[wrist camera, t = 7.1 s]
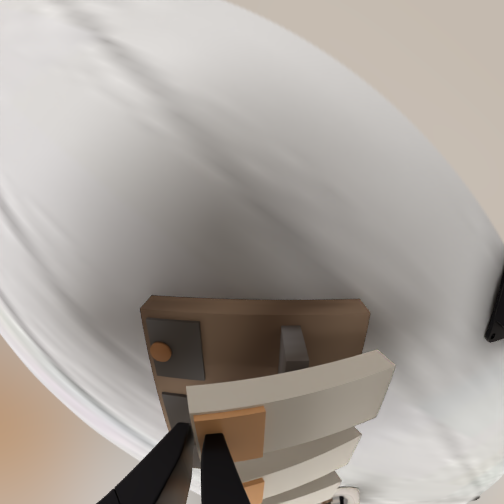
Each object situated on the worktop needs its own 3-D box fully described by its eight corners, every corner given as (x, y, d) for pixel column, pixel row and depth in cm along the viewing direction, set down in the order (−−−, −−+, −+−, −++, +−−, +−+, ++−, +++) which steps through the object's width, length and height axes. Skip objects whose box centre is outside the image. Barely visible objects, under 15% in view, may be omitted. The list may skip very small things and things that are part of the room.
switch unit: (359, 299, 13) (393, 342, 9) (320, 454, 16) (328, 496, 12) (151, 295, 13) (115, 337, 9) (184, 451, 16) (174, 492, 12)
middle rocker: (347, 419, 11) (364, 437, 10) (335, 450, 12) (349, 466, 10) (201, 467, 8) (211, 493, 7) (208, 492, 9) (218, 514, 8)
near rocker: (377, 349, 9) (400, 368, 8) (361, 400, 10) (379, 420, 9) (186, 386, 8) (190, 419, 6) (196, 437, 8) (201, 467, 7)
